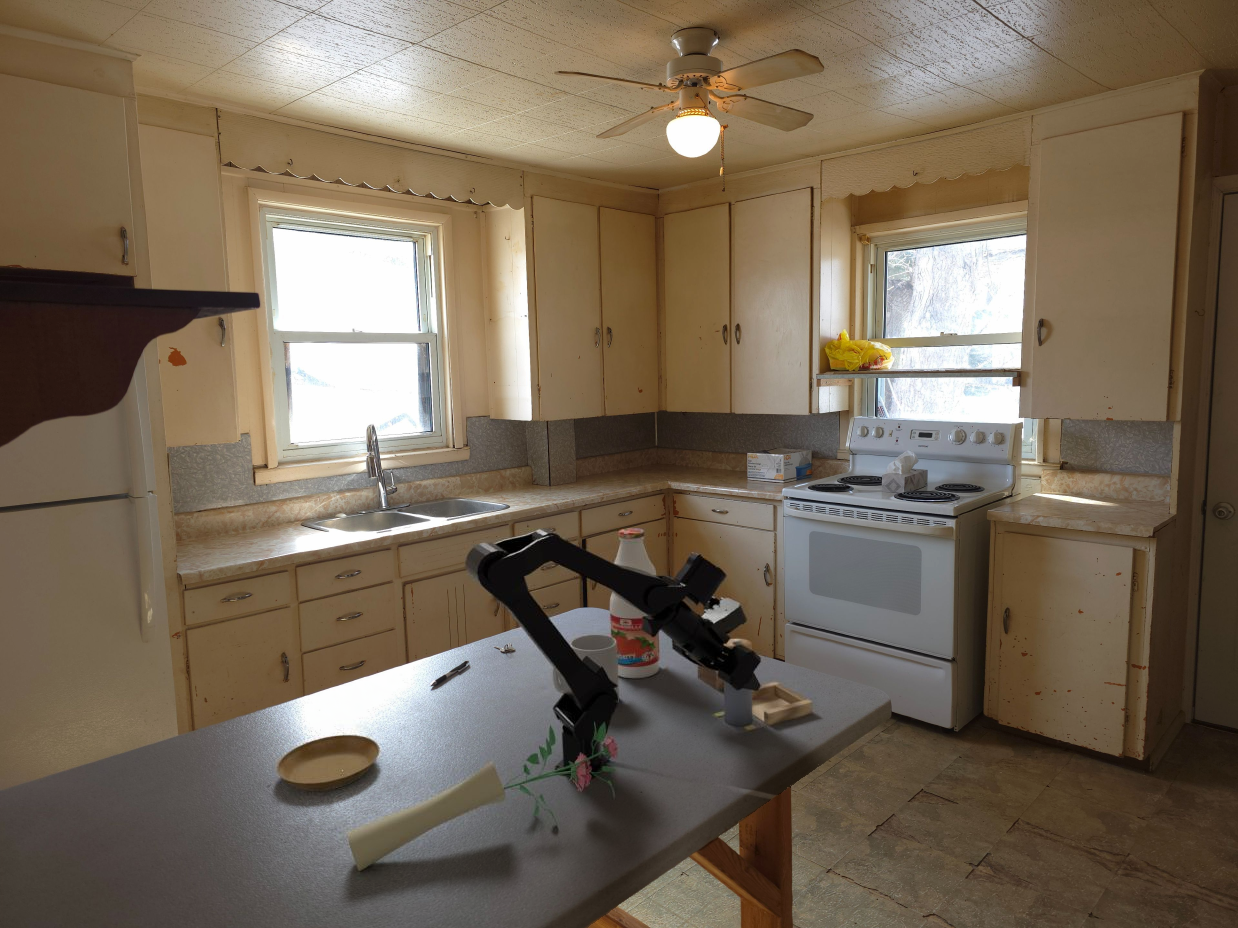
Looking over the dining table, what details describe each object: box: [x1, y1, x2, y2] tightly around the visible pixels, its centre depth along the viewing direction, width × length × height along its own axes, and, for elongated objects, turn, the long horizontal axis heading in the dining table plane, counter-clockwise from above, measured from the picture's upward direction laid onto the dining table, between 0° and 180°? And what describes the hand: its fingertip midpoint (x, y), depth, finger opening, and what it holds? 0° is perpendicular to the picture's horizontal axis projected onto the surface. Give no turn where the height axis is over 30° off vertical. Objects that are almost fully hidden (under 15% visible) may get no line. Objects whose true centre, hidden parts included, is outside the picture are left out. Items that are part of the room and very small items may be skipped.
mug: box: [552, 634, 620, 703], centre depth 142 cm, size 12×8×11 cm
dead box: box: [697, 665, 724, 692], centre depth 149 cm, size 7×7×4 cm
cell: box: [723, 638, 754, 726], centre depth 132 cm, size 5×5×14 cm
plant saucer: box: [276, 734, 381, 792], centre depth 122 cm, size 15×15×3 cm
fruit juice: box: [609, 527, 661, 679], centre depth 156 cm, size 9×9×28 cm
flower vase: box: [346, 722, 619, 872], centre depth 104 cm, size 12×12×35 cm
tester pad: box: [710, 710, 768, 735], centre depth 133 cm, size 6×8×1 cm
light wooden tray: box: [752, 681, 813, 727], centre depth 137 cm, size 9×10×3 cm
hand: (744, 679), depth 133 cm, fingers open, 7 cm apart
